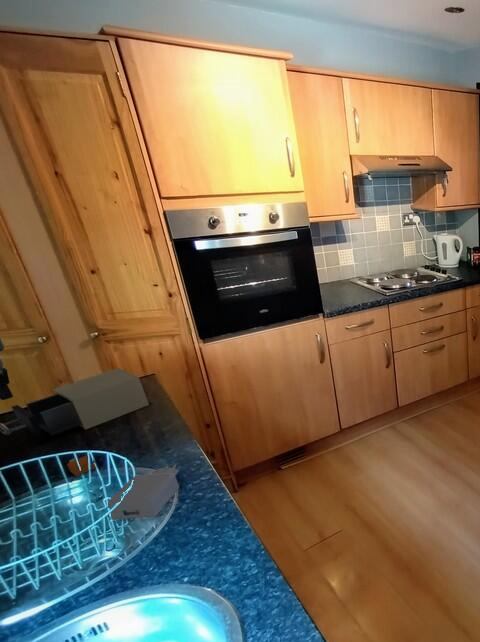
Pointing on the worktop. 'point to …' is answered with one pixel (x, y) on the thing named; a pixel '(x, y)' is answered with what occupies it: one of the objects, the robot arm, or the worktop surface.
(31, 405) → the dark drawer with handle
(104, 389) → the grey sloped box
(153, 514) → the charger
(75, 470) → the orange lobed block
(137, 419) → the worktop surface
